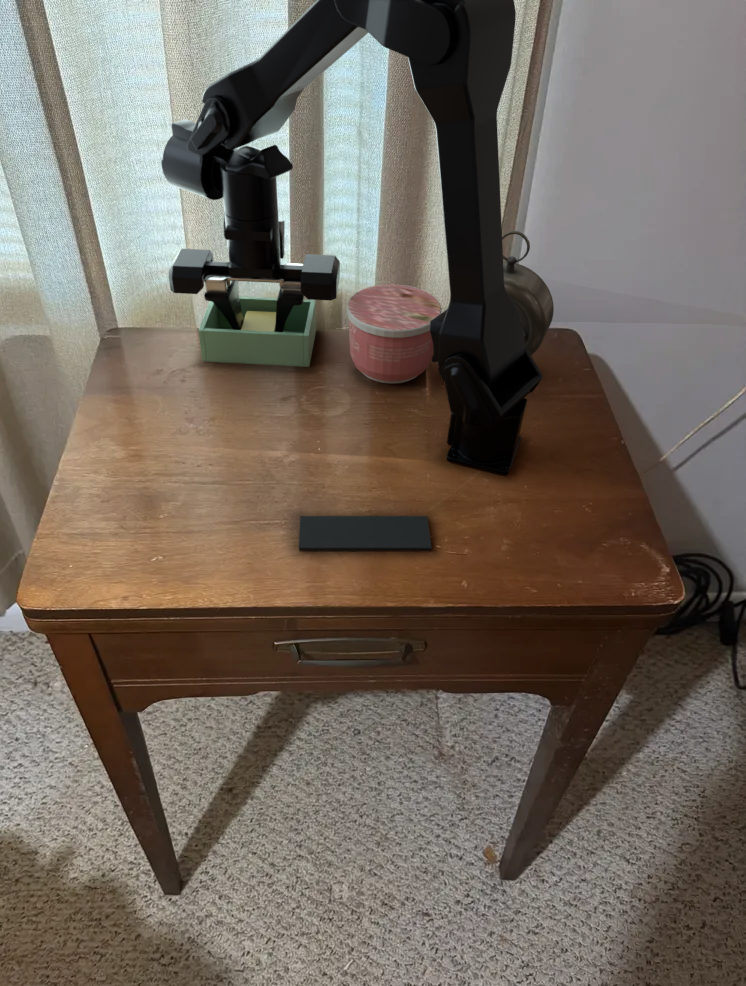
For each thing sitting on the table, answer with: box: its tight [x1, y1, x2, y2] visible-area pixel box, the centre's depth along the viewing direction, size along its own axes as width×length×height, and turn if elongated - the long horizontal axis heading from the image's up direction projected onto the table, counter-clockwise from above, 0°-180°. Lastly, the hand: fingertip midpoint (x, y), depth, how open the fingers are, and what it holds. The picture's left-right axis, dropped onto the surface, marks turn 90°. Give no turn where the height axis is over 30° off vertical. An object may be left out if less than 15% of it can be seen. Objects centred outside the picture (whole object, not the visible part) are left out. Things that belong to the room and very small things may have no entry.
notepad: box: [241, 311, 276, 332], centre depth 91 cm, size 4×6×3 cm, turn 176°
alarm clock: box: [502, 230, 555, 356], centre depth 84 cm, size 11×5×16 cm, turn 66°
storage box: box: [197, 295, 317, 368], centre depth 90 cm, size 13×8×4 cm, turn 86°
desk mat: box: [298, 515, 433, 552], centre depth 70 cm, size 12×4×1 cm, turn 91°
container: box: [346, 283, 443, 384], centre depth 86 cm, size 10×10×8 cm
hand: (260, 340), depth 91 cm, fingers closed on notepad, 4 cm apart
